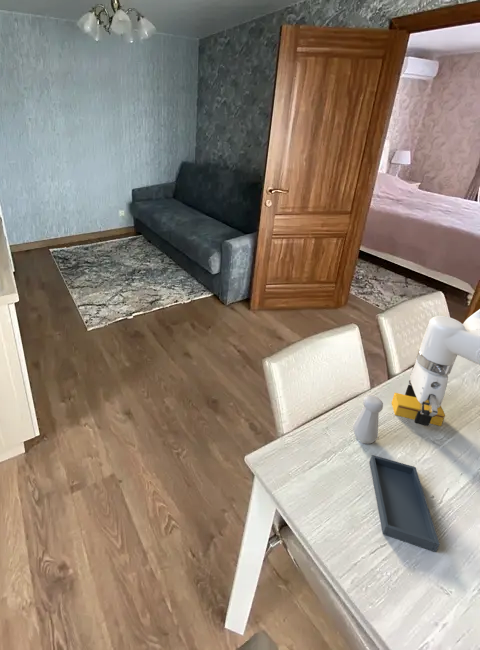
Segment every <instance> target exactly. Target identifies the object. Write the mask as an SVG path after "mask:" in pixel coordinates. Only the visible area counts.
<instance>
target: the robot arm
mask: <svg viewBox="0 0 480 650" xmlns="http://www.w3.org/2000/svg"><path fill="white" fill-rule="evenodd" d="M458 356H459V357H461V358H463V359H465V360H467V361H469V362H472V363H474V364H476V365H478V366H480V308H479V309H478V310H476V311H475V312H473V313H472V314H471V315H470V316H469V317H467V318H466V319H465V320H464V321H463V323H462V322H461V321H459V320H458V319H455V318H453V317H450V316H447V315H435V316H433V317H431V318H429V321H428V323H427V326H426V329H425V332H424V334H423V338H422V340H421V343H420V346H419V349H418V352H417V354H416V358H415V363H414V365H412V369H411V370H412V371H411V373H410V377H409V380H408V384H407V388H406V391H405V393H404V395H407V396H412V397H416V398H417V400H418V401H419V402H420V411H418V412H417V415H416V417H415V420H414V423H415V424H418V425H421V426H425V427H429V426H430V421H431V419H432V417H435V415H437V414H438V410H437V408H439V407H440V406H441V407H442V403H443V400H444V398H445V394H446V391H447V387H448V381H449V380H448V379H449V375H450V374H451V372H452V370H453V368H454V367H453V366H454V364H455V362H456V360H457V358H458ZM426 400H429V403H427V402H425V401H426ZM424 404H425V405H429V407H430V408H429V410H424Z"/></svg>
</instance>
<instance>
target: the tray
mask: <svg viewBox="0 0 480 650" xmlns="http://www.w3.org/2000/svg"><path fill="white" fill-rule="evenodd" d="M369 467H370V473H371V478H372V479H371V480H372V483H373V489H374V495H375V500H376V507H377V511H378V516H379V521H380V522H379V523H380V527H381V533H382V535H384V536H386V537H390V538H393V539H396V540H397V541H398V540H399V541H401V542H405V543H408V544H410V545H413V546H416V547H419V548H422V549H425V550H428V551H431V552H433V553H437V551H438V549H439V547H440V545H441V544H440V541H439V538H438V534H437V532H436V529H435V528H436V527H435V525H434V522H433V518H432V516H431V513H430V510H429V506H428V503H427V500H426V496H425V493H424V489H423V487H422V483H421V480H420V477H419V473H418V470H417V467H416V466H414V465H409V464H406V463H403V462H400V461H395V460H391V459H388V458H384V457H382V456H381V457H380V456H378V455H374V454H371V456H370V459H369Z"/></svg>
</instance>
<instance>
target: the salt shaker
mask: <svg viewBox="0 0 480 650" xmlns="http://www.w3.org/2000/svg"><path fill="white" fill-rule="evenodd" d="M362 399H363V400H362V404H363V406H362V408H361V410H360V411H359V414H358V415H357V417H356V419H355V420H354V422H353V424H352V431H353V433H354V436H355V439H356V440H357V441H359V442H360V443H361V444H363V445H371V444H373V443H374V442H376V441H377V439H378V438H379V417H380V416H379V413H381V412H382V411H383V408H384V403H383V401H382V399H381V398H380V397H378V396H376V395H374V394H367V395H365V396H364V397H363V398H362Z"/></svg>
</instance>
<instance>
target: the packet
mask: <svg viewBox="0 0 480 650" xmlns="http://www.w3.org/2000/svg"><path fill="white" fill-rule="evenodd" d="M425 402H427V403H429V400H426V401H425ZM391 406H392V410H393V414H394V416H398V417H402V418H406V419H408V420H409V419H410V420H415V417H416V415H417V412H418V411H420V402H419V401H418V400H417V398H416V397H412V396H407V395H405V394H403V393H399V392H394V394H393V397H392V400H391ZM429 408H430V407H429V405H425V404H424V410H429ZM437 410H438V414H437V415H435V417H432V419H431V421H430V424H431V425H434V426H438V427H442V425H443V422H444V419H445V417H446V414H445V411H444V410H443V407H442V405H441V406H440V407H439V408H437ZM430 424H429V425H430Z"/></svg>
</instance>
